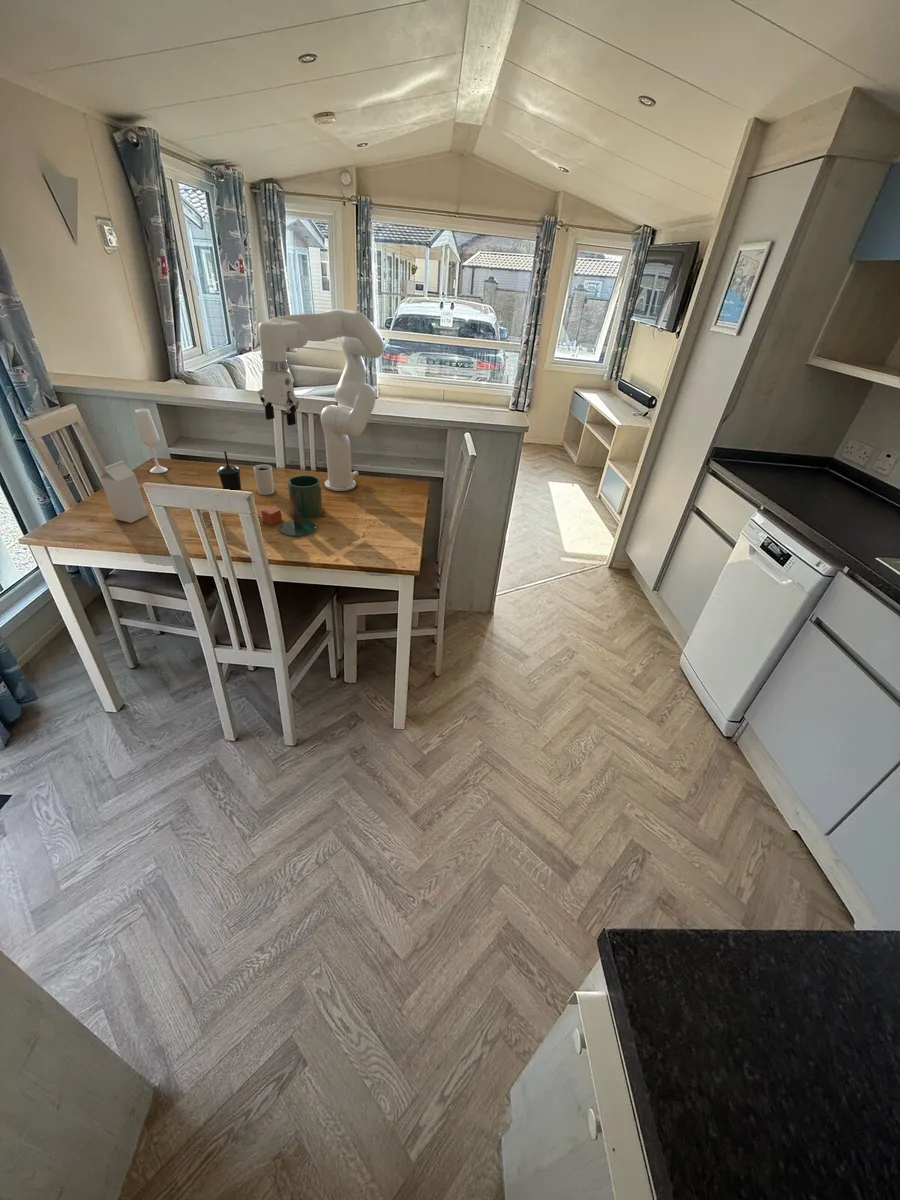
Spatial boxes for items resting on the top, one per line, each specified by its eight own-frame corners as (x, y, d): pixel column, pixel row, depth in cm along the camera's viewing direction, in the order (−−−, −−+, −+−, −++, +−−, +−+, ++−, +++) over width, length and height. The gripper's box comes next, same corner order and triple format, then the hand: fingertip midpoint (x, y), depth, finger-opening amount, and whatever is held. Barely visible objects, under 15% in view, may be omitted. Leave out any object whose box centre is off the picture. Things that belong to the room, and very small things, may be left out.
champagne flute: (170, 467, 211) (154, 408, 198) (163, 473, 206) (147, 413, 192) (153, 466, 211) (137, 407, 197) (146, 472, 205) (129, 412, 192)
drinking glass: (253, 493, 196) (249, 468, 190) (265, 487, 201) (261, 463, 195) (267, 496, 194) (263, 471, 188) (278, 490, 199) (275, 466, 193)
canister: (306, 504, 191) (303, 472, 183) (329, 512, 186) (326, 480, 179) (285, 514, 183) (280, 481, 175) (308, 522, 178) (304, 489, 171)
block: (272, 518, 180) (271, 506, 177) (282, 521, 178) (280, 510, 175) (263, 522, 176) (261, 510, 174) (272, 526, 175) (270, 514, 172)
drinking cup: (239, 510, 183) (229, 456, 171) (220, 507, 184) (208, 453, 172) (250, 502, 189) (241, 449, 178) (231, 499, 190) (221, 447, 179)
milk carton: (147, 515, 175) (131, 462, 164) (131, 523, 170) (112, 469, 159) (131, 511, 177) (114, 458, 166) (114, 519, 171) (95, 465, 160)
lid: (298, 519, 180) (295, 502, 177) (323, 528, 176) (322, 511, 172) (272, 531, 172) (270, 513, 168) (299, 541, 167) (296, 523, 163)
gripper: (304, 369, 158) (308, 424, 168) (264, 361, 165) (270, 415, 174) (286, 372, 153) (291, 429, 162) (246, 363, 159) (253, 418, 169)
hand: (280, 421), depth 168 cm, fingers open, 9 cm apart
